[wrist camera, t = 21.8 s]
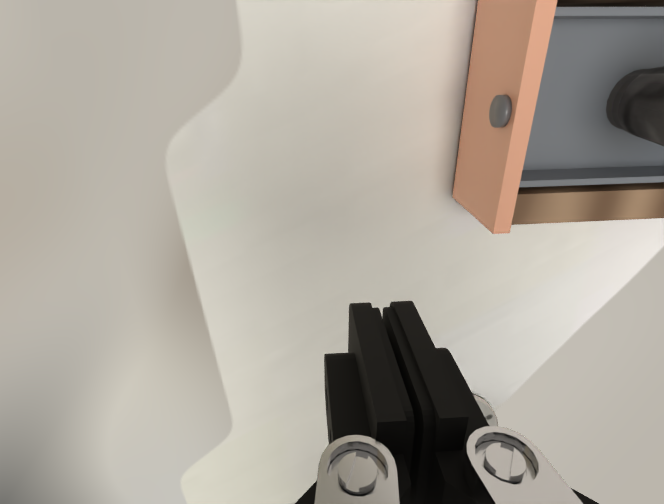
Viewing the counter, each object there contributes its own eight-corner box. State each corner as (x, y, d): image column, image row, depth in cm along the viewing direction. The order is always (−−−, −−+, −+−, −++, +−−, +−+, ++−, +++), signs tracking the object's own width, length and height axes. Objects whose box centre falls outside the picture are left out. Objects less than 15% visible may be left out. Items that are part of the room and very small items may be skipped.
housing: (465, 204, 36) (489, 225, 32) (500, -35, 28) (539, -51, 24) (672, 196, 38) (723, 215, 33) (760, -33, 30) (842, -48, 25)
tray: (446, 197, 35) (486, 234, 28) (474, -21, 28) (535, -46, 21) (651, 189, 37) (737, 222, 30) (725, -20, 30) (863, -43, 23)
